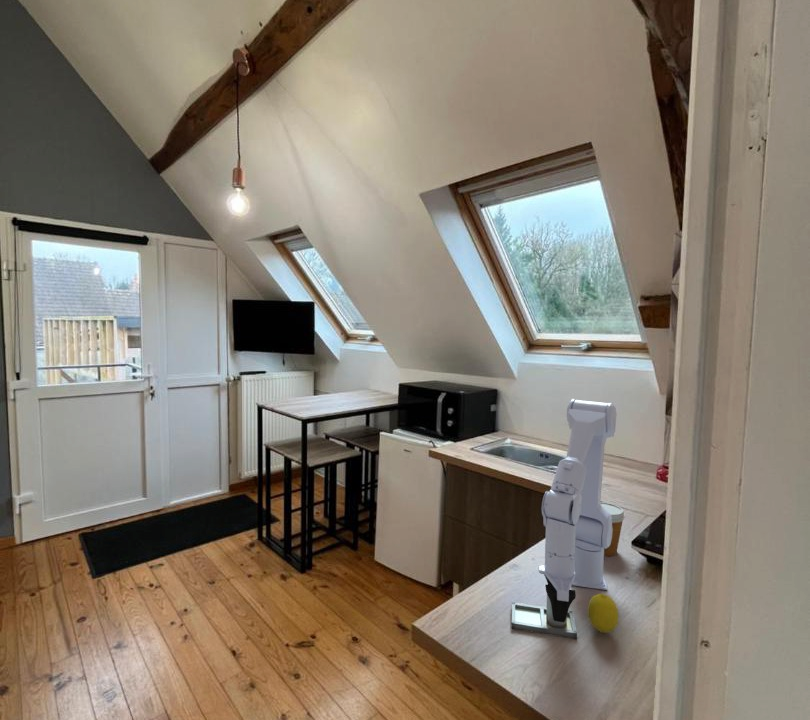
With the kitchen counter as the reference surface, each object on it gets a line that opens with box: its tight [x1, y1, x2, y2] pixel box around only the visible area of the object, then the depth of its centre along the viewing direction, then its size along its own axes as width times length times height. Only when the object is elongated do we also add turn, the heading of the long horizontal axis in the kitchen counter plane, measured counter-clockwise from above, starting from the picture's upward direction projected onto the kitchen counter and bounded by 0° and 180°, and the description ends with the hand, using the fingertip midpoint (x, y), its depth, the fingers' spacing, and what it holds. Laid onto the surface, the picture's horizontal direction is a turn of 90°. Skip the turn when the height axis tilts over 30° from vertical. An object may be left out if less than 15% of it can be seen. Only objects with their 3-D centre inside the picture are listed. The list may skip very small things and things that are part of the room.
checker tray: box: [511, 602, 578, 640], centre depth 90 cm, size 7×12×1 cm, turn 76°
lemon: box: [587, 593, 619, 634], centre depth 87 cm, size 6×6×8 cm
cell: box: [546, 594, 567, 629], centre depth 89 cm, size 4×4×7 cm
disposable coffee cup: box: [600, 501, 626, 557], centre depth 119 cm, size 10×10×12 cm
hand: (557, 613), depth 89 cm, fingers closed on cell, 4 cm apart
